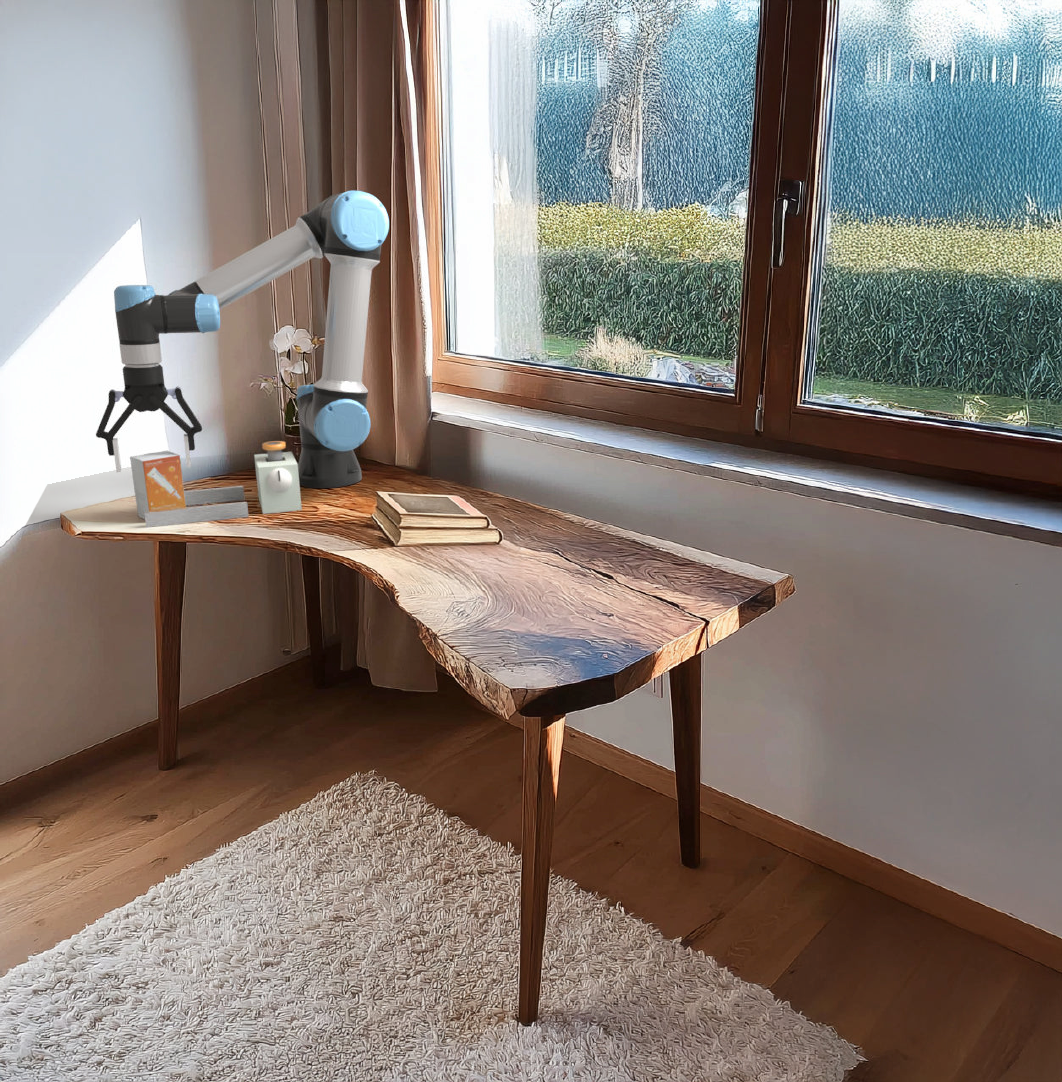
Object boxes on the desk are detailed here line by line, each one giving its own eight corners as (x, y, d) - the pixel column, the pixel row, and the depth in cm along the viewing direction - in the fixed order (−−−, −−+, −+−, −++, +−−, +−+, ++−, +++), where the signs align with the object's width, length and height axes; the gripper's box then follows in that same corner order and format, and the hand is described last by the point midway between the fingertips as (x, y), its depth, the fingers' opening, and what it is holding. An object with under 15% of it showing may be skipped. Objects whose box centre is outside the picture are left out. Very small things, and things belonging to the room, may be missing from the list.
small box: (150, 522, 201) (141, 460, 197) (137, 516, 206) (128, 456, 202) (188, 514, 207) (180, 454, 203) (174, 509, 211) (166, 449, 207)
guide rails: (244, 498, 218) (243, 485, 217) (248, 516, 204) (247, 503, 203) (148, 507, 212) (146, 494, 211) (146, 527, 198) (144, 513, 197)
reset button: (286, 467, 214) (284, 440, 212) (289, 472, 210) (286, 444, 208) (264, 469, 213) (261, 442, 211) (265, 474, 208) (263, 446, 206)
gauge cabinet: (295, 495, 221) (291, 451, 217) (302, 510, 208) (297, 464, 205) (258, 498, 218) (254, 454, 215) (263, 514, 206) (258, 468, 203)
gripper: (207, 360, 204) (216, 460, 210) (76, 365, 196) (90, 468, 203) (207, 364, 197) (217, 467, 203) (72, 369, 189) (87, 476, 196)
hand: (154, 468), depth 203 cm, fingers open, 13 cm apart
